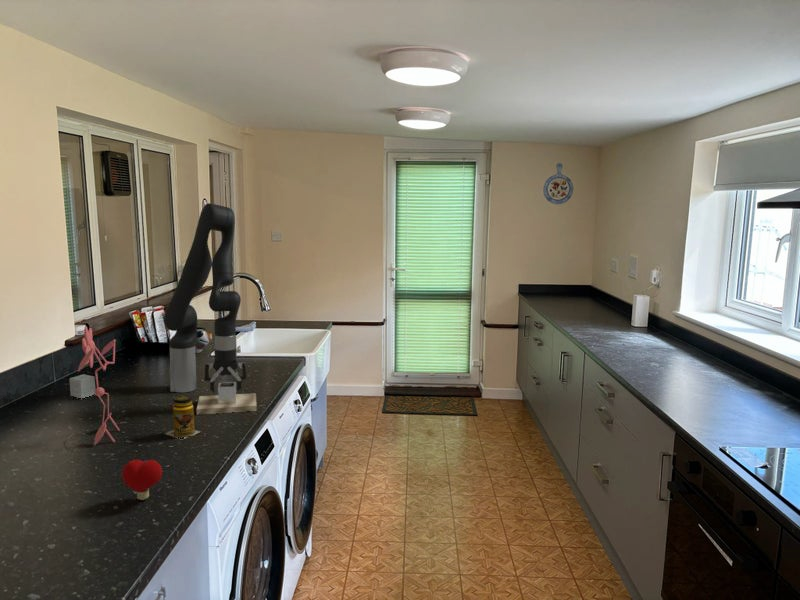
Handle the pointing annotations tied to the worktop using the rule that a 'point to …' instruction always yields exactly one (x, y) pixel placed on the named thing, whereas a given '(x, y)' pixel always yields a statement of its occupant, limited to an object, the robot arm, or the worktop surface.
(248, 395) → the hub base
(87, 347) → the figurine
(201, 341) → the lucky cat figurine
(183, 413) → the condiment
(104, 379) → the worktop surface
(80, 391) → the product box
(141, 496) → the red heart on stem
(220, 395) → the steel collar
